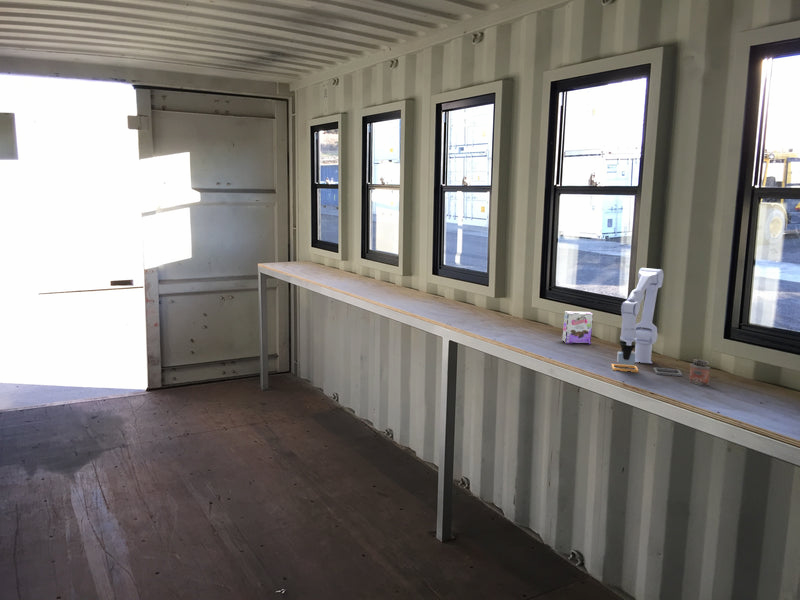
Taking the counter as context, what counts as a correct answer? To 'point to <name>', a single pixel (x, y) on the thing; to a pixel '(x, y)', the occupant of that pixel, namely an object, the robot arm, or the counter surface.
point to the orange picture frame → (624, 366)
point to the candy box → (577, 327)
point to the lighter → (699, 372)
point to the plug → (622, 360)
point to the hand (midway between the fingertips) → (625, 358)
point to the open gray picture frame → (667, 370)
